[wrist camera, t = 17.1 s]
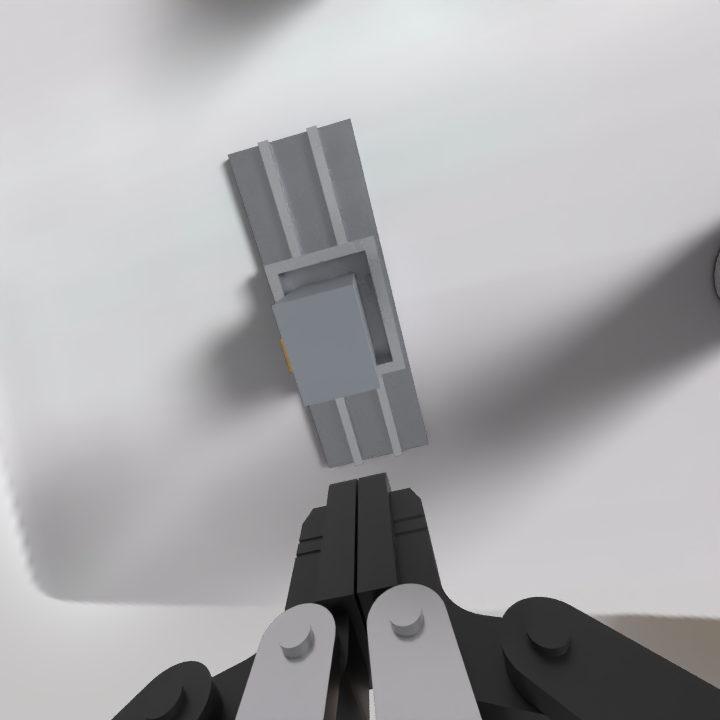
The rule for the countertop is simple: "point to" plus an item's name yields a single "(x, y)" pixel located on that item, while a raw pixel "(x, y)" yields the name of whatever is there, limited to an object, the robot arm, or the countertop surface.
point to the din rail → (333, 274)
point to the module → (327, 339)
